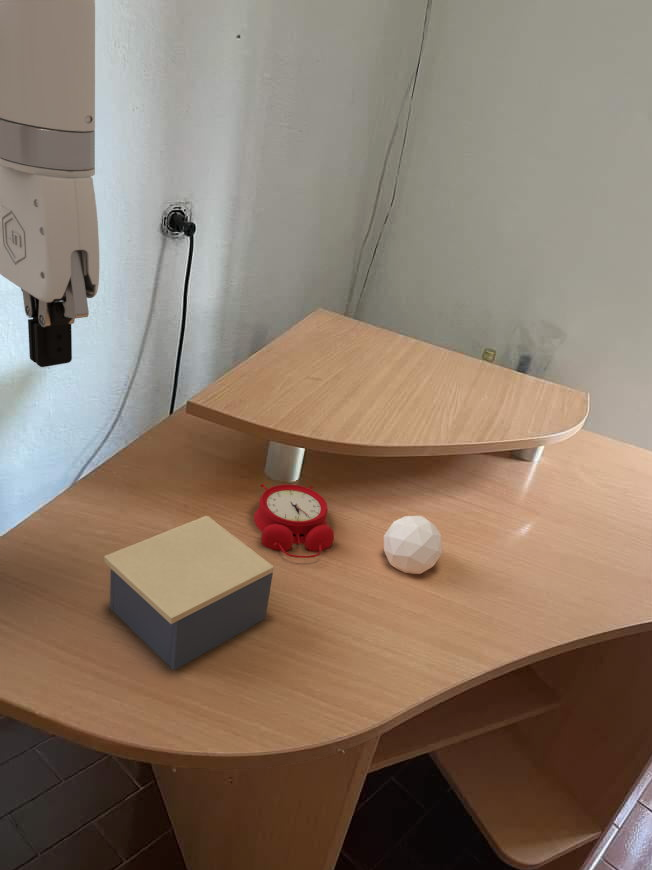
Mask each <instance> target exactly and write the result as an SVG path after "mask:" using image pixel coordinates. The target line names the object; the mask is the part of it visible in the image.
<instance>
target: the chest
mask: <svg viewBox="0 0 652 870" xmlns="http://www.w3.org/2000/svg"><path fill="white" fill-rule="evenodd" d="M109 574H110V578H109V579H110V580H109V581H110V582H109V589H110V590H109V609H110V610H111V612H113V613H114V614H115V615H116V616H117V617H118V618H119V619H120V620H122V622H123V623H125V625H126V626H128V628H129V629H131V631H133V632H134V634H135V635H137V637H139V638H140V639H141V641H142V642H144V643H145V644H146V645H147V646H148V647H149V648H150V649H151V650H152V651H153V652H154V653H155V654H156V655H157V656H158V657H159V658H160V659H161V660H162V661H164V663H165V664H167V666H169V667H170V669H171V670H172V671H176V670H178V669H180V668H181V667H183V666H185V665H186V664H188V663H190V662H191V661H193V660H196V659H197V658H199V657H200V656H202V655H204V654H206V653H208V652H209V651H212V650H213V649H215V648H216V647H218V646H220V645H222V644H223V643H225V642H228V641H229V640H230V639H232V638H234V637H235V636H237V635H239V634H241V633H243V632H244V631H247V630H248V629H250V628H252V627H253V626H255V625H257V624H258V623H260V622H262V621H263V620H265V619H266V618H267V617H266V616H267V611H268V605H269V599H270V593H271V587H272V582H273V581H272V580H273V575H274V573H273V572H272V573H270V574H269V575H267V576H265V577H263V578H261V579H259V580H257V581H255V582H253V583H251V584H249V585H247V586H245V587H243V588H241V589H239V590H237V591H235V592H233V593H231V594H229V595H227V596H225V597H223V598H222V599H220V600H218V601H216V602H214V603H212V604H210V605H208V606H206V607H204V608H202V609H200V610H198V611H196V612H194V613H192V614H190V615H188V616H186V617H184V618H182V619H180V620H178V621H176V622H174V623H173V624H170V623H169V622H168V621H167V620H166V619H165V618H164V617H163V616H162V615H161V614H159V613H158V612H157V611H156V610H155V609H154V608H153V607H152V606H151V605H150V604H149V603H148V602H147V601H145V600H144V599H143V598H142V597H141V596H140V595H139V594H138V593H137V592H136V591H135V590H134V589H133V588H131V587H130V586H129V585H128V584H127V583H126V582H125V581H124V580H123V579H122V578H121V577H120V576H119V575H117V574H116V573H115V572H114V571H113V570H112V569H111V568H110V573H109Z"/></svg>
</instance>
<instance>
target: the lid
mask: <svg viewBox="0 0 652 870" xmlns="http://www.w3.org/2000/svg"><path fill="white" fill-rule="evenodd" d="M103 563H104V564H105V565H106V566H108V568H110V570H111V569H112V570H113V571H114V572H115V573H116V574H117V575H119V576H120V577H121V578H122V579H123V580H124V581H125V582H126V583H127V584H128V585H129V586H130V587H131V588H133V589H134V590H135V591H136V592H137V593H138V594H139V595H140V596H141V597H142V598H143V599H144V600H145V601H147V602H148V603H149V604H150V605H151V606H152V607H153V608H154V609H155V610H156V611H157V612H158V613H159V614H161V615H162V616H163V617H164V618H165V619H166V620H167V621H168V622H169V623H170V624H173V623H174V622H176V621H178V620H180V619H182V618H184V617H186V616H188V615H190V614H192V613H194V612H196V611H198V610H200V609H202V608H204V607H206V606H208V605H210V604H212V603H214V602H216V601H218V600H220V599H222V598H223V597H225V596H227V595H229V594H231V593H233V592H235V591H237V590H239V589H241V588H243V587H245V586H247V585H249V584H251V583H253V582H255V581H257V580H259V579H261V578H263V577H265V576H267V575H269V574H270V573H273V572H274V566H273V565H272V564H271V563H270V562H268V560H266V559H264V558H263V557H262V556H261V555H259V554H258V553H257V552H255V550H253V549H252V548H251V547H249V546H248V545H246V544H245V542H243V541H242V540H240V539H239V538H237V537H236V536H235V535H234V534H232V533H231V532H229V530H227V529H225V528H224V527H223V526H222V525H220V524H219V523H218V522H216V521H215V520H214V519H213V518H212V517H210V516H208V515H204V516H202V517H199V518H196V519H193V520H192V521H189V522H187V523H183V524H181V525H179V526H176V527H173V528H171V529H169V530H166V531H164V532H161V533H159V534H156V535H153V536H151V537H148V538H146V539H144V540H141V541H138V542H136V543H133V544H131V545H128V546H126V547H122V548H120V549H118V550H115V551H113V552H110V553H108V554H105V555H104V556H103Z"/></svg>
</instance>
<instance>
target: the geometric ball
mask: <svg viewBox="0 0 652 870" xmlns="http://www.w3.org/2000/svg"><path fill="white" fill-rule="evenodd" d="M442 542H443V541H442V535H441V533H440V531H439V530H438V528H437V527H436V525H435V524H434V523H433V522H431V521H430V520H428V519H427V518H426V517H424V516H423V515H405V516H403V517H400V518H398V519H396V520H394V521H393V522H392V523H391V525H390V526H389V527H388V529H387V530H386V532H385V533H384V535H383V551H384V554H385V556H386V558H387V561H388V562H389V565H390V566H392V567H393V568H395V569H396V570H398V571H400V572H402V573H405V574H411V575H421V574H422V573H424V572H426V571H428V570H430V569H431V568H433V567H434V566H435V564H436V563H437V562H438V560H439V559H440V557H442V554H443V543H442Z"/></svg>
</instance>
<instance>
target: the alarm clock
mask: <svg viewBox="0 0 652 870" xmlns="http://www.w3.org/2000/svg"><path fill="white" fill-rule="evenodd" d="M260 487H261V488H263V489H264V492H263V493H262V495H261V496H260V498H259V505H258V508H257V509H256V510H255V512H254V514H253V515H254V516H253V520H254V524H255V526H256V527H257V529H258V530H259V531H260V532H262V533H261V540H260V541H261V544H262V546H263V547H264V548H267V549H271V550H274V551H279V552H280V551H281V552H283V553H284V554H285V555H287V556H289V557H292V558H299V559H309V558H316V557H318V556H320V554H321V553H322V551H324V550H327V549H329V548H330V547H332V545H333V543H334V539H335V532H334V530H333V528H332V527H331V526H329V525H328V521H327V516H328V512H329V511H328V504H327V501H326V500H325V498H324V497H323V496H322V495H320V494H319V493H318V492H317V491H316V490H313V485H309V487H306V486H302V485H297V484H278V485H274V486H271V487H269V488H267V486H265V484H264V483H261V484H260ZM294 535H295V536H294ZM302 544H304V548H305V549H306V550H308V551H310V552H317V553H316V554H315V553H314V554H311V555H296V554H291V553H289V551H290V550H291V548H292V547H293V545H302Z"/></svg>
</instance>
